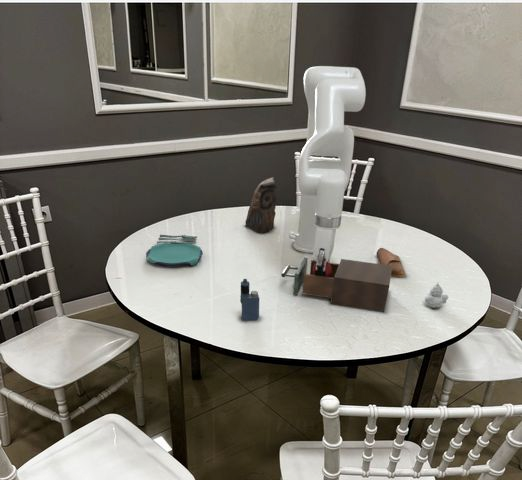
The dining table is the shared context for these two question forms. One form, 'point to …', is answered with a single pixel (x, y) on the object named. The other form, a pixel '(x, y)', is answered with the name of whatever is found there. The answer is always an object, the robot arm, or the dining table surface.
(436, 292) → the grey lumpy piece
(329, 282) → the drawer
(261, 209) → the owl
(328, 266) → the onion
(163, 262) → the cutlery set
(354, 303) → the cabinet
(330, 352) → the dining table surface
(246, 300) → the vaping device
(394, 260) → the sunglasses case
